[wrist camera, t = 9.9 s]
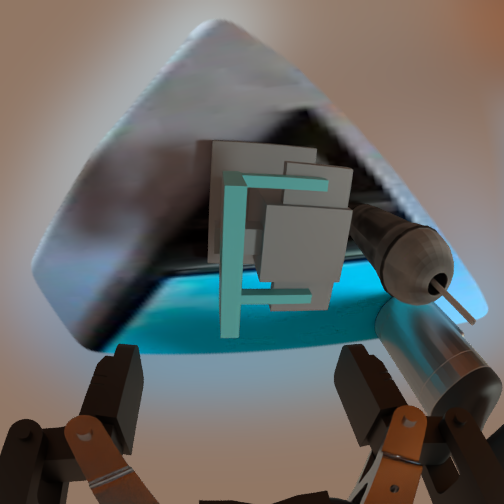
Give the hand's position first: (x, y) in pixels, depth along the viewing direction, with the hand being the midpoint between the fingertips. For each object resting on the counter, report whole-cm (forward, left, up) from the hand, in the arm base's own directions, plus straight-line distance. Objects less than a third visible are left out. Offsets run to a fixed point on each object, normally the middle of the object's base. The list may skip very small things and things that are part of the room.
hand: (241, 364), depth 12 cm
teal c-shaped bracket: (-3, 0, -13) cm, 13 cm away
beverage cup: (-17, +1, -25) cm, 30 cm away
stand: (-4, 0, -24) cm, 25 cm away
